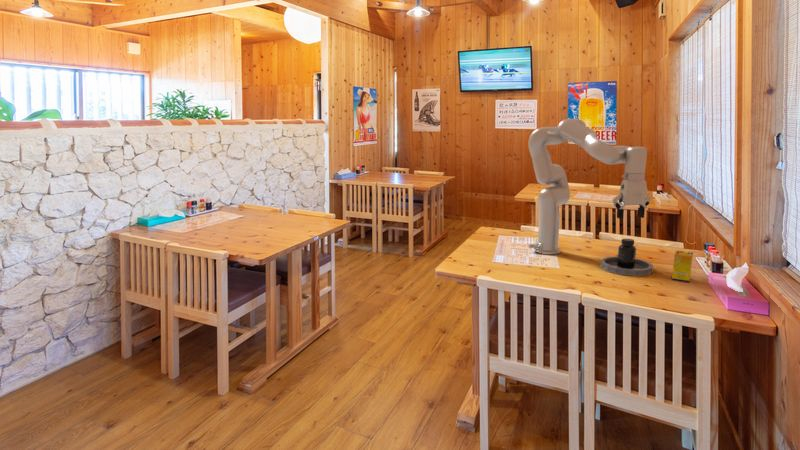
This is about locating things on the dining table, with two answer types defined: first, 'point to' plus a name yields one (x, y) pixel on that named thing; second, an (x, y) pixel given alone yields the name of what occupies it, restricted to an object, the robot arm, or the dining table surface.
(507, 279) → the dining table surface
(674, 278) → the supplement box
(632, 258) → the supplement bottle
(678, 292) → the dining table surface
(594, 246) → the dining table surface
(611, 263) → the round tray
